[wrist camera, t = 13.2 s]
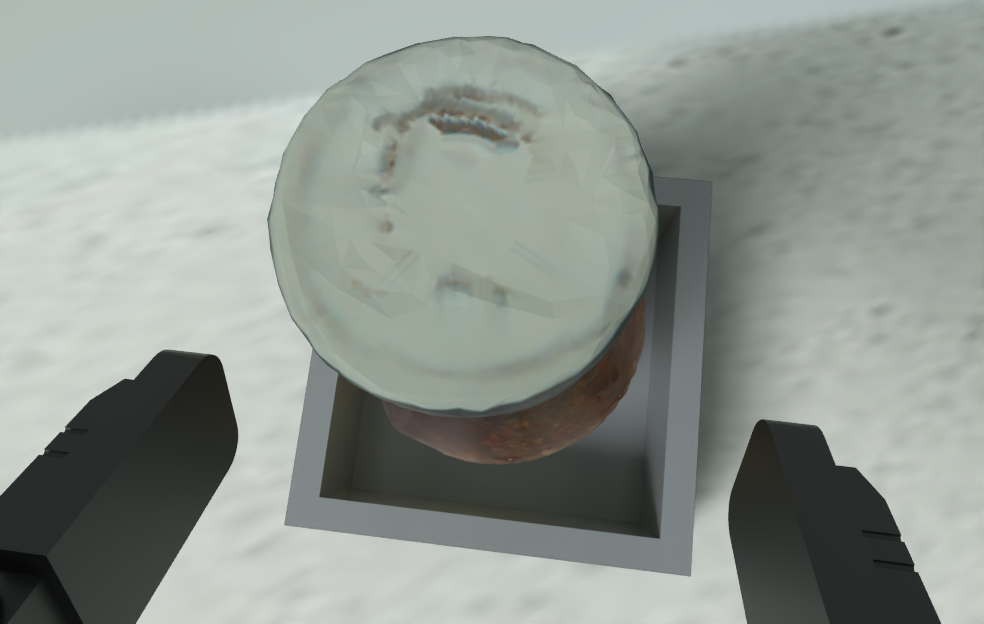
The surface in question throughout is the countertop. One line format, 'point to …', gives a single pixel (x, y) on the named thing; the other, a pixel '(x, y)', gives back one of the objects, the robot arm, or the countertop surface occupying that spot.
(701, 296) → the gray tray
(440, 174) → the sauce bottle
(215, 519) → the countertop surface
